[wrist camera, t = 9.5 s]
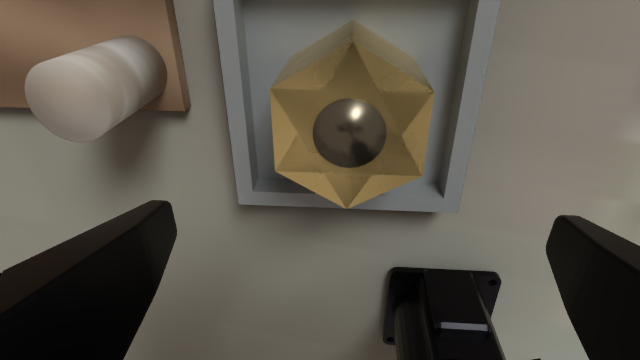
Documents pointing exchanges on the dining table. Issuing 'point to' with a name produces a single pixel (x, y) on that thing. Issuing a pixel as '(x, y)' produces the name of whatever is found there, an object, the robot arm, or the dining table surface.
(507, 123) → the dining table surface
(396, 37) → the tray
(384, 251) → the dining table surface
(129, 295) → the robot arm
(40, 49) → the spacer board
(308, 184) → the nut
